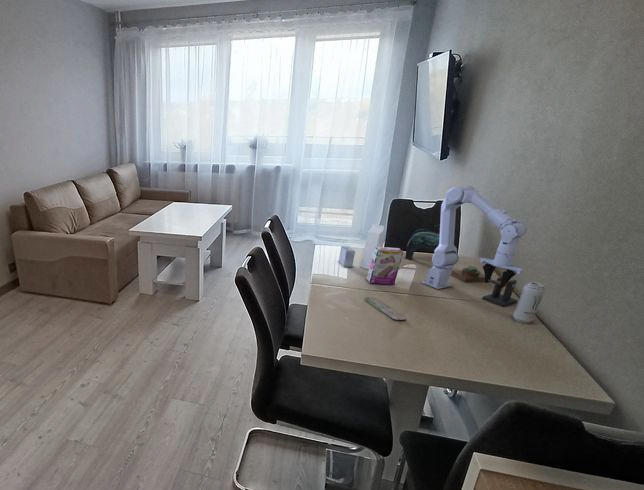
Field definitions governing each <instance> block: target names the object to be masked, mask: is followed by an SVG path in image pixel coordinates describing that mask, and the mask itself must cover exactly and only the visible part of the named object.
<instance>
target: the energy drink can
mask: <svg viewBox="0 0 644 490" xmlns="http://www.w3.org/2000/svg"><path fill="white" fill-rule="evenodd" d="M545 293H546V289H545V284H543V283H540V282H537V281H528V282H527V283H526V284H525V285H524V286H523V289H522V292H521V294H520V297H519V299H518V300H517V304H516V307H515V309H514V311H513V314H512V317H513V320H515V321H517V322H519V323H522V324H530V323H531V322H533V321H534V319H535V316H536V314H537V311H538V309H539V307H540V304H541V302H542V300H543V297H544V295H545Z"/></svg>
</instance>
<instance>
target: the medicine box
mask: <svg viewBox="0 0 644 490" xmlns="http://www.w3.org/2000/svg"><path fill="white" fill-rule="evenodd" d="M355 255H356V250H355V249H353V248H352V247H351V246H349V245H342V246H341V247H340V251H339V257H338V263H339V264H340V265H341V266H342V267H343V268H353V266H354V259H355Z"/></svg>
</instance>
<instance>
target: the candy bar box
mask: <svg viewBox="0 0 644 490" xmlns="http://www.w3.org/2000/svg"><path fill="white" fill-rule="evenodd" d="M403 255H404V250H402V249H401V248H399V247H389V246H388V247H387V246H386V247H385V246H383V247H374V251H373V255H372V259H371V263H370V267H369V270H368V272H367V276H366V281H367V282H368V284H372V285H373V284H374V285H388V286H389V285H390V286H395V284H396V280H397V277H398V273H399V269H400V266H401V261H402V258H403Z"/></svg>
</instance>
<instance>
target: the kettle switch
mask: <svg viewBox="0 0 644 490" xmlns="http://www.w3.org/2000/svg"><path fill="white" fill-rule="evenodd" d="M488 283H491V284H494V285H495V284H496V285H499V286H500V283H501V281H497V280H495V279H492V278H491V279H488ZM507 283H508V282H507ZM507 283H506V285H505V286H504V288H506V286H507Z"/></svg>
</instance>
